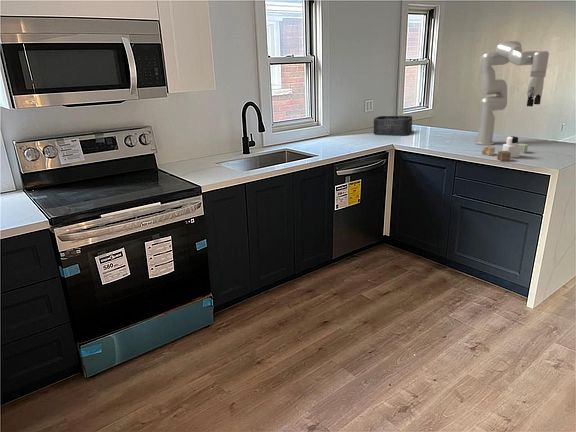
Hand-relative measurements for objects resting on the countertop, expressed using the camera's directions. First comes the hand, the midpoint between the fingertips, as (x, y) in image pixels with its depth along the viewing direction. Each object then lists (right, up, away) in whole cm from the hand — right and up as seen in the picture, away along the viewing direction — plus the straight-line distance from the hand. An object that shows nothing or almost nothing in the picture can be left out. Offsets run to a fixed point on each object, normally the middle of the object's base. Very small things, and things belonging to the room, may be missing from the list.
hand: (533, 105), depth 245 cm
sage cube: (+4, -25, +19) cm, 31 cm away
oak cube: (-18, -26, +19) cm, 37 cm away
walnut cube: (-16, -32, +4) cm, 35 cm away
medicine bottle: (-8, -29, +11) cm, 32 cm away
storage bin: (-56, +4, +105) cm, 119 cm away
